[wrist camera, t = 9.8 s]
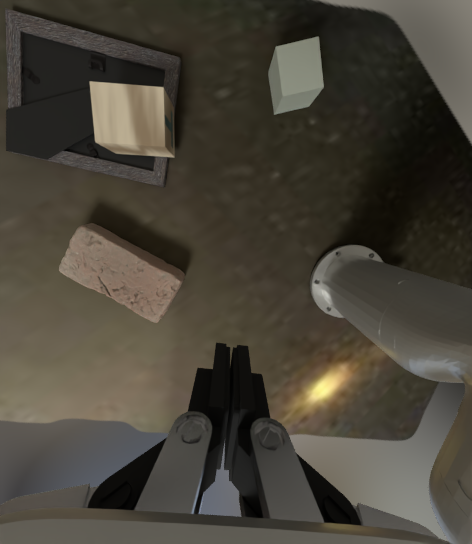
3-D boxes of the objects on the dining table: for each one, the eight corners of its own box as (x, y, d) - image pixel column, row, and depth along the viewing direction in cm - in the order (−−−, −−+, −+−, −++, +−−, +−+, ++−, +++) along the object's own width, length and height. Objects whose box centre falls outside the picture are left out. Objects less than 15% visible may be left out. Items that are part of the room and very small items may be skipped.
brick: (73, 265, 36) (50, 273, 31) (93, 220, 34) (73, 221, 30) (166, 312, 39) (158, 325, 34) (188, 272, 37) (183, 280, 33)
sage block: (304, 65, 30) (318, 36, 25) (308, 106, 31) (323, 87, 27) (268, 73, 30) (275, 46, 25) (274, 114, 32) (282, 96, 27)
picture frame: (19, 154, 32) (166, 187, 34) (6, 150, 30) (162, 186, 32) (17, 19, 28) (182, 65, 30) (2, 4, 26) (179, 55, 28)
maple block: (163, 87, 25) (89, 81, 24) (165, 146, 26) (95, 142, 26) (174, 108, 30) (112, 103, 29) (174, 157, 31) (116, 153, 31)
